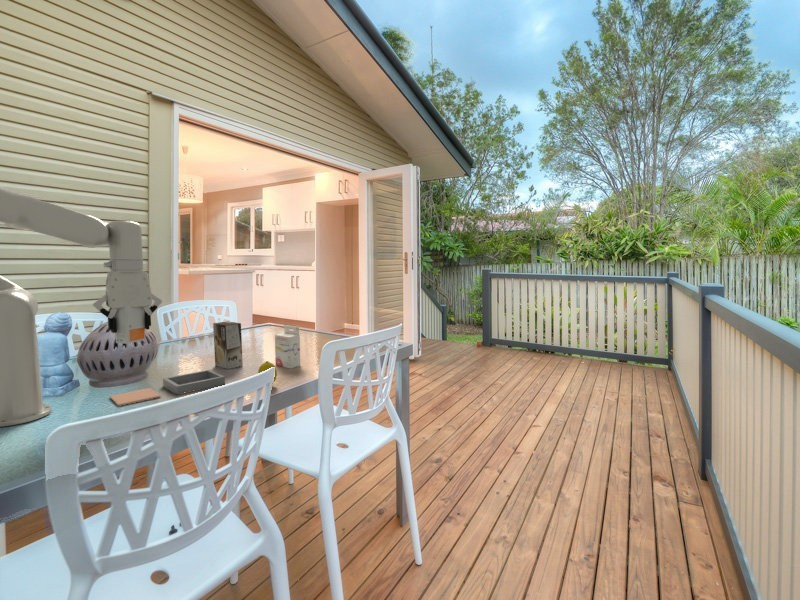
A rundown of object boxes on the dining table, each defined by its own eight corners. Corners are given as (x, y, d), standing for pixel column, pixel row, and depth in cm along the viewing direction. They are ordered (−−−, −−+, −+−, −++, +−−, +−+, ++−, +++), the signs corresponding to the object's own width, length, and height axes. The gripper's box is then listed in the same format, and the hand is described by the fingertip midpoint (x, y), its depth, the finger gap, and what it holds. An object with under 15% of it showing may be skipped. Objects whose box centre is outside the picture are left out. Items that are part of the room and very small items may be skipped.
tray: (177, 394, 118) (176, 386, 117) (163, 386, 126) (162, 378, 126) (225, 384, 128) (224, 376, 128) (209, 377, 136) (209, 369, 136)
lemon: (258, 390, 122) (257, 364, 121) (258, 384, 127) (258, 359, 127) (277, 388, 124) (276, 362, 123) (277, 383, 129) (276, 358, 128)
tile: (118, 406, 108) (118, 404, 108) (109, 398, 115) (109, 395, 115) (160, 397, 115) (160, 395, 115) (149, 389, 122) (149, 388, 122)
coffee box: (243, 365, 151) (242, 323, 149) (227, 369, 146) (225, 325, 144) (230, 362, 156) (228, 320, 155) (214, 365, 151) (212, 322, 149)
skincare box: (128, 344, 110) (126, 300, 109) (115, 343, 111) (112, 299, 110) (146, 340, 116) (144, 298, 115) (133, 339, 117) (131, 298, 116)
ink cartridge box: (274, 365, 151) (273, 326, 150) (285, 362, 155) (284, 324, 154) (290, 368, 146) (289, 328, 145) (301, 365, 151) (300, 326, 149)
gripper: (90, 266, 103) (95, 336, 104) (166, 266, 116) (169, 328, 117) (84, 266, 108) (89, 332, 110) (157, 266, 121) (160, 325, 122)
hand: (130, 330), depth 113 cm, fingers closed on skincare box, 7 cm apart
